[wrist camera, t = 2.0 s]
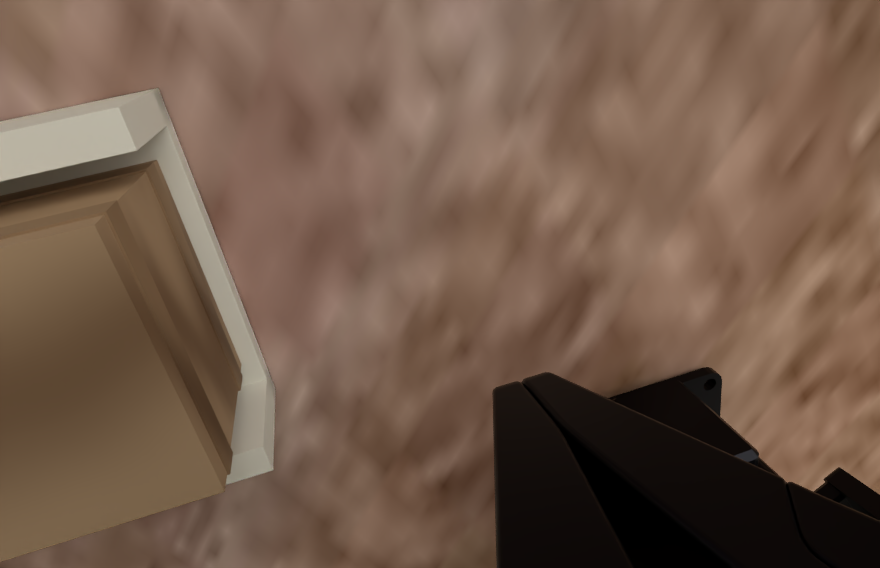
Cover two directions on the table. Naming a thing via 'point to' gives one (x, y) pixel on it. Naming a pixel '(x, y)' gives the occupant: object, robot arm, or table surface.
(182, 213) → the bay
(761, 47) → the table surface
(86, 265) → the crate
